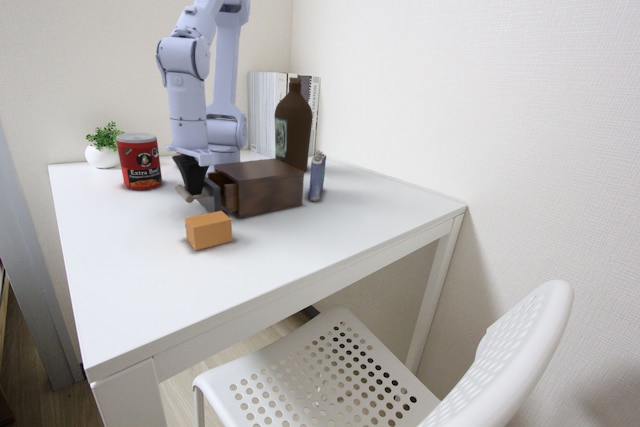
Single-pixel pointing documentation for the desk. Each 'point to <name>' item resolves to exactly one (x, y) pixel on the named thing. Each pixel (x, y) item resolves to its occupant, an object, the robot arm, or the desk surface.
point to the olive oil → (293, 127)
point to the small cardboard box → (208, 230)
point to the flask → (317, 176)
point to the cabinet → (264, 185)
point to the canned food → (139, 160)
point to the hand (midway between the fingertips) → (194, 194)
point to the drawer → (214, 193)
